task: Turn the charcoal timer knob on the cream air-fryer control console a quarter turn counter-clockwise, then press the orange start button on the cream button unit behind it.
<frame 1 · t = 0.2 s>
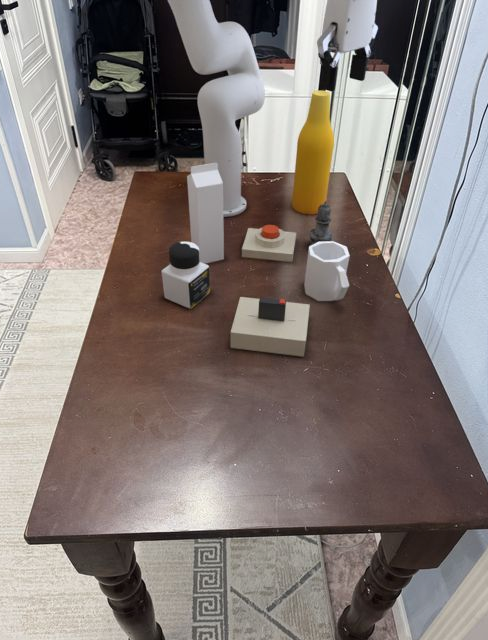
hand: (342, 84, 93), 37 cm above the table, tool pointing down, fingers open, 9 cm apart
mug: (327, 295, 107), on the table
button: (270, 232, 117), point 4 cm above the table, slide at 0.1 cm
gray chess piece: (319, 247, 121), on the table
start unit: (269, 248, 120), on the table
timer console: (270, 333, 97), on the table
knob: (272, 308, 93), point 6 cm above the table, hinge at 0.0°
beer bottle: (308, 207, 136), on the table
medicine bottle: (187, 296, 106), on the table
milk: (207, 256, 117), on the table
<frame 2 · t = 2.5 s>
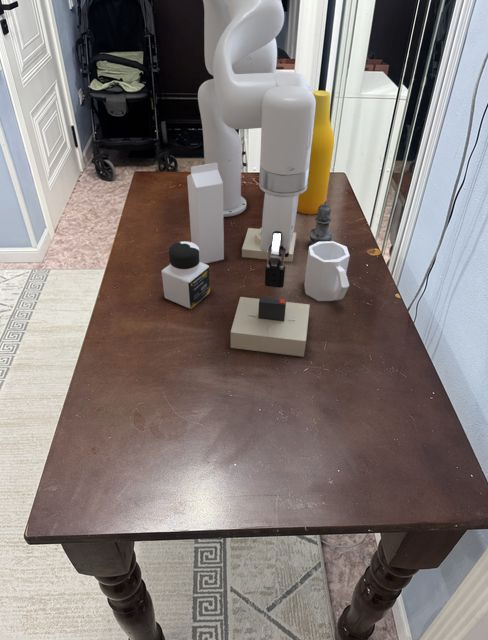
hand: (277, 270, 88), 14 cm above the table, tool pointing down, fingers open, 9 cm apart
nothing on the table moved.
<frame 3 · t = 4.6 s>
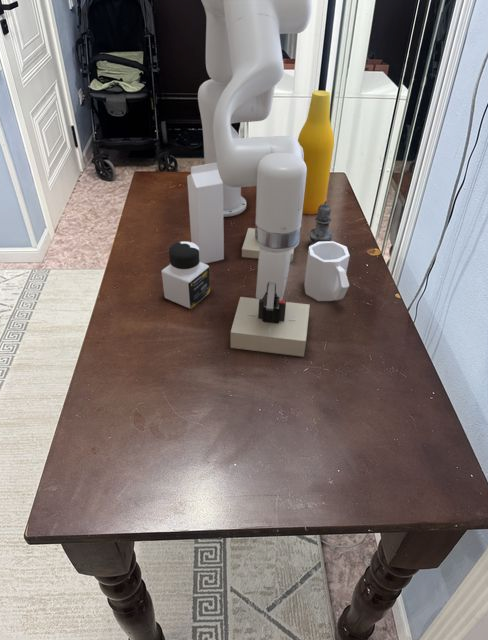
hand: (271, 317, 94), 4 cm above the table, tool pointing down, fingers closed
nothing on the table moved.
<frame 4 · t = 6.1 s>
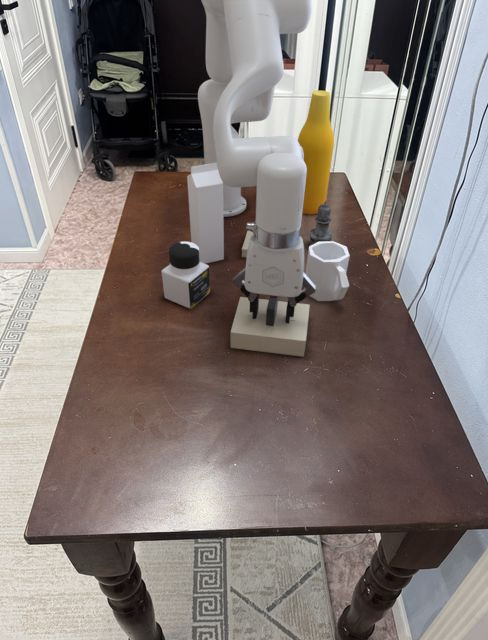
hand: (271, 315, 94), 4 cm above the table, tool pointing down, fingers open, 5 cm apart
knob: (272, 308, 93), point 6 cm above the table, hinge at 88.5°
everything else where it was.
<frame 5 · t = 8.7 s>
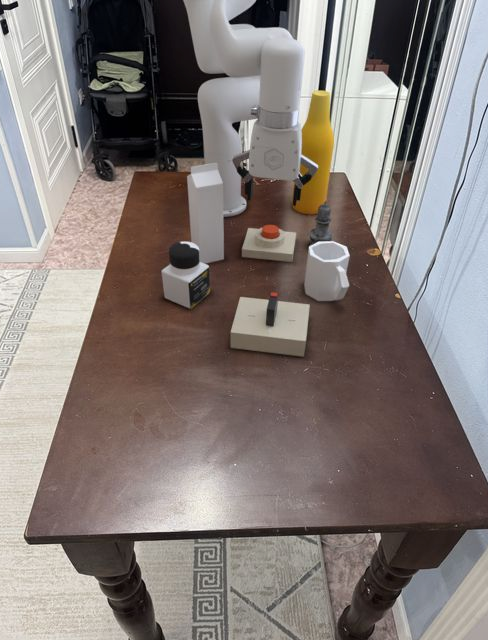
hand: (272, 200, 105), 16 cm above the table, tool pointing down, fingers open, 9 cm apart
nothing on the table moved.
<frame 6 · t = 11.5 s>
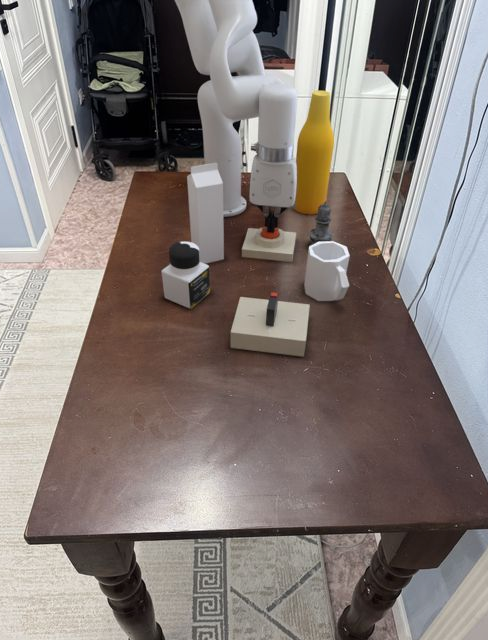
hand: (271, 229, 116), 5 cm above the table, tool pointing down, fingers closed
button: (270, 232, 117), point 4 cm above the table, slide at 0.0 cm, touching gripper
everything else where it was.
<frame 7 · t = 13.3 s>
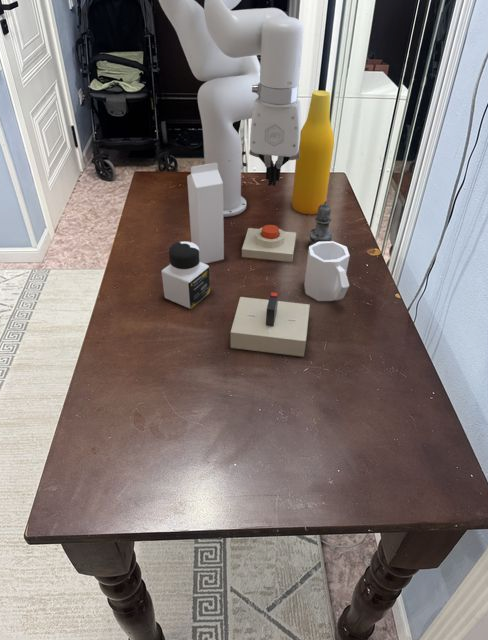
hand: (272, 183, 109), 17 cm above the table, tool pointing down, fingers closed
button: (270, 232, 117), point 4 cm above the table, slide at 0.1 cm
everything else where it was.
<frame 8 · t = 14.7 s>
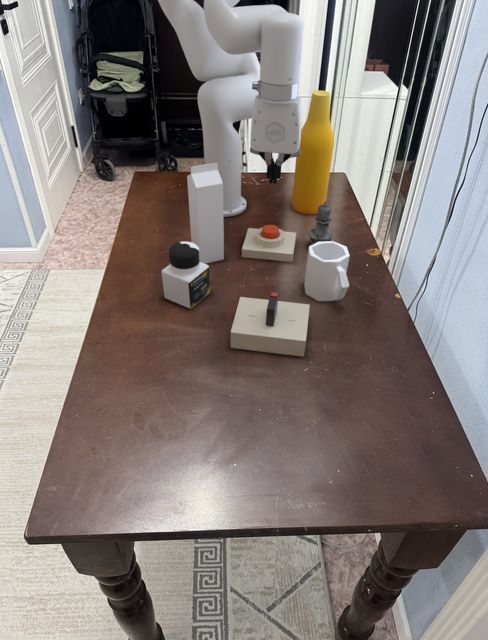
hand: (273, 180, 108), 17 cm above the table, tool pointing down, fingers closed
nothing on the table moved.
at the end: knob at +88° (first picture: +0°); button pushed in 1.1 cm at the most during the clip, back to where it started at the end; button slide at 0.1 cm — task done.
